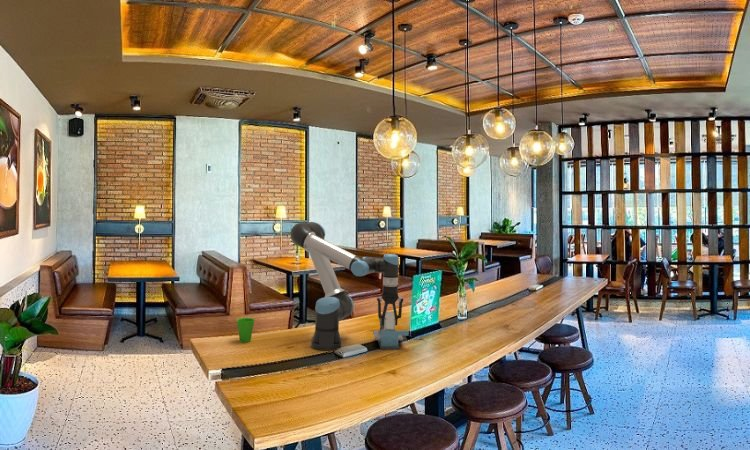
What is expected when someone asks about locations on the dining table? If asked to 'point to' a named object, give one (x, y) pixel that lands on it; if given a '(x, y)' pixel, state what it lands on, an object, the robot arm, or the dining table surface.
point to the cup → (245, 329)
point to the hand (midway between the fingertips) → (389, 331)
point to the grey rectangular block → (389, 320)
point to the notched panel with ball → (389, 338)
